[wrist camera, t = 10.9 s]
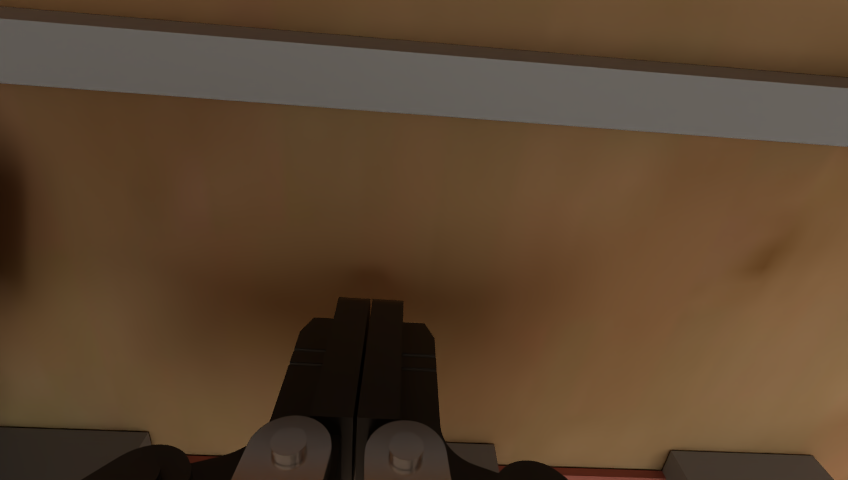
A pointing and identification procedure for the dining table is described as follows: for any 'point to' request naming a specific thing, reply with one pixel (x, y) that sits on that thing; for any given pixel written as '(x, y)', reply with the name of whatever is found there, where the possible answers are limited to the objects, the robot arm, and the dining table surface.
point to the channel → (411, 94)
